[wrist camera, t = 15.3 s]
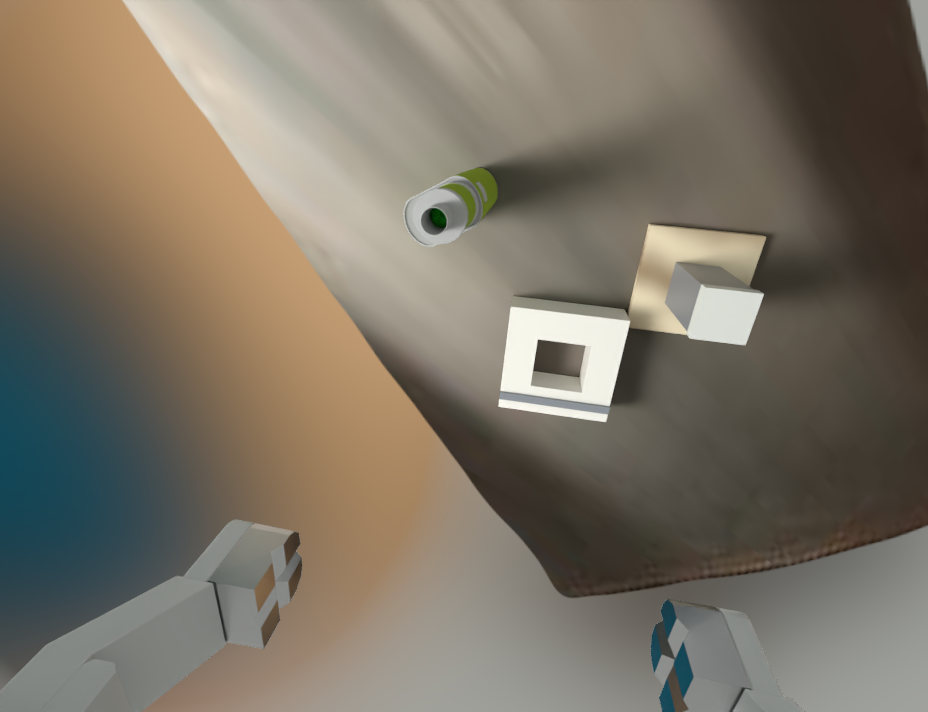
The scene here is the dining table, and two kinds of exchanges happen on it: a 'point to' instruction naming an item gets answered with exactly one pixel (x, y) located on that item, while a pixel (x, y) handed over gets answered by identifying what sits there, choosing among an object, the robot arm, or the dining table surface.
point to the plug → (712, 303)
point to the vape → (450, 207)
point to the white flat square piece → (567, 325)
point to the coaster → (685, 247)
